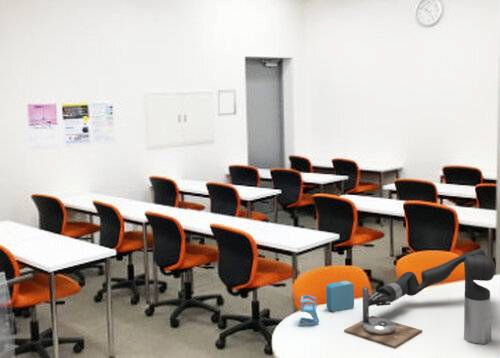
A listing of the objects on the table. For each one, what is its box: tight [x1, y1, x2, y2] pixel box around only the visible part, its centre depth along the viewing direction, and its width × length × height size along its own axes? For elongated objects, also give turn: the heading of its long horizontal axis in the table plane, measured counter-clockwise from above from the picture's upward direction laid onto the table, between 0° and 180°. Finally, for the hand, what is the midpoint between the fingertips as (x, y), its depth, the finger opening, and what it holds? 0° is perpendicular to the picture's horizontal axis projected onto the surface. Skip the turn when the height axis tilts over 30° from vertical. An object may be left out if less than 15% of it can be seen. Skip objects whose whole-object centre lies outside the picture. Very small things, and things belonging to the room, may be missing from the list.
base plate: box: [343, 315, 423, 349], centre depth 238 cm, size 24×20×1 cm
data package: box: [325, 280, 355, 313], centre depth 264 cm, size 12×4×12 cm, turn 112°
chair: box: [298, 294, 320, 327], centre depth 249 cm, size 8×8×12 cm
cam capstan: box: [362, 286, 402, 335], centre depth 236 cm, size 17×13×16 cm
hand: (365, 304), depth 242 cm, fingers closed
